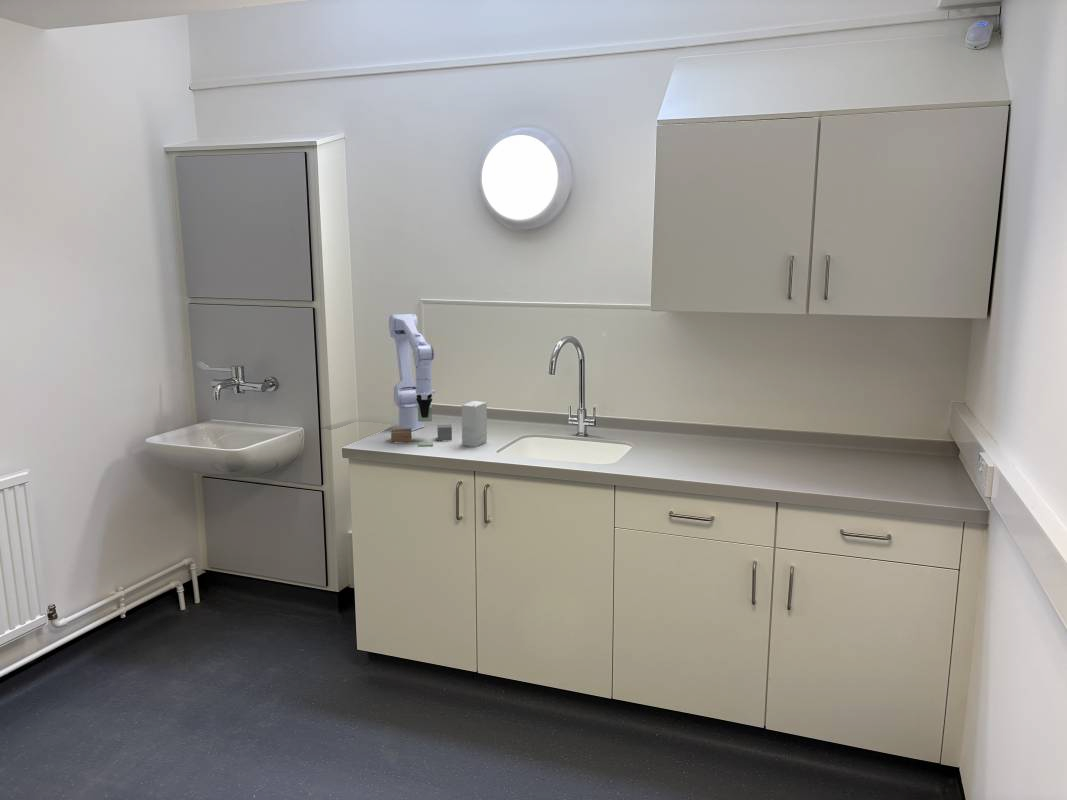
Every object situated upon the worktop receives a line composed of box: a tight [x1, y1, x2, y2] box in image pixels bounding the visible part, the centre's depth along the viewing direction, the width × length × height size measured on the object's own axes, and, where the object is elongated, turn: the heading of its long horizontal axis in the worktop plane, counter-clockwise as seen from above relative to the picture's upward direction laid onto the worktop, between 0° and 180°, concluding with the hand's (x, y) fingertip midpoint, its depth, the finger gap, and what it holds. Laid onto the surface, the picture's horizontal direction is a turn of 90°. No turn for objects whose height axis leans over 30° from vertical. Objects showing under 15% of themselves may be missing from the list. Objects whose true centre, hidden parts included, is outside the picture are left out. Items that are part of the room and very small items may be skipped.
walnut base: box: [390, 428, 413, 444], centre depth 281 cm, size 7×7×4 cm
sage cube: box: [418, 404, 433, 422], centre depth 280 cm, size 5×5×5 cm
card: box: [418, 440, 434, 447], centre depth 275 cm, size 5×5×1 cm
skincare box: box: [461, 400, 488, 448], centre depth 275 cm, size 8×6×15 cm
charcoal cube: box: [436, 423, 453, 442], centre depth 283 cm, size 5×5×5 cm
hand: (424, 415), depth 280 cm, fingers closed on sage cube, 5 cm apart
